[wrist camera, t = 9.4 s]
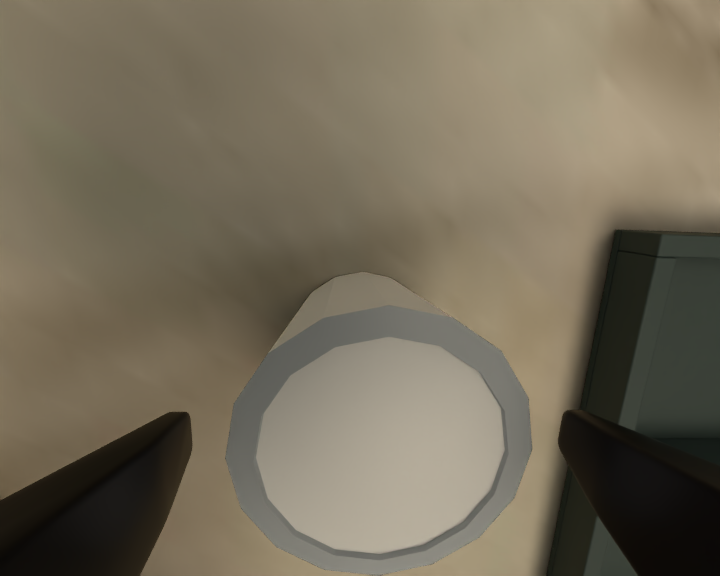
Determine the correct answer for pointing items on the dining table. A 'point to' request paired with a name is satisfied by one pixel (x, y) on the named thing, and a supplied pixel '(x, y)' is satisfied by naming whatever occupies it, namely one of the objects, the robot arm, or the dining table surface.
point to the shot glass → (377, 431)
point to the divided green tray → (648, 372)
